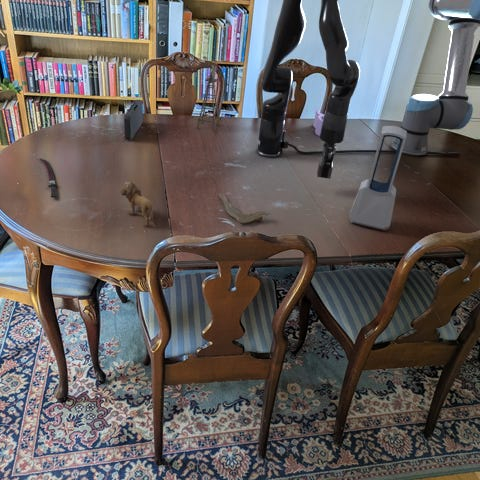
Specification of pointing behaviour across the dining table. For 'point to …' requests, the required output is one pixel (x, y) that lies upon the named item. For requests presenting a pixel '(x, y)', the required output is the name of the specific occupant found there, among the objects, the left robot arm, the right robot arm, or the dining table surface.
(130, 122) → the handheld gaming console
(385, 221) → the electronic device
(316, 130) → the clip
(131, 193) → the lion figurine
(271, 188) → the dining table surface
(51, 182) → the sword
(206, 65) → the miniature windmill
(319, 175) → the block
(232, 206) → the jawbone
